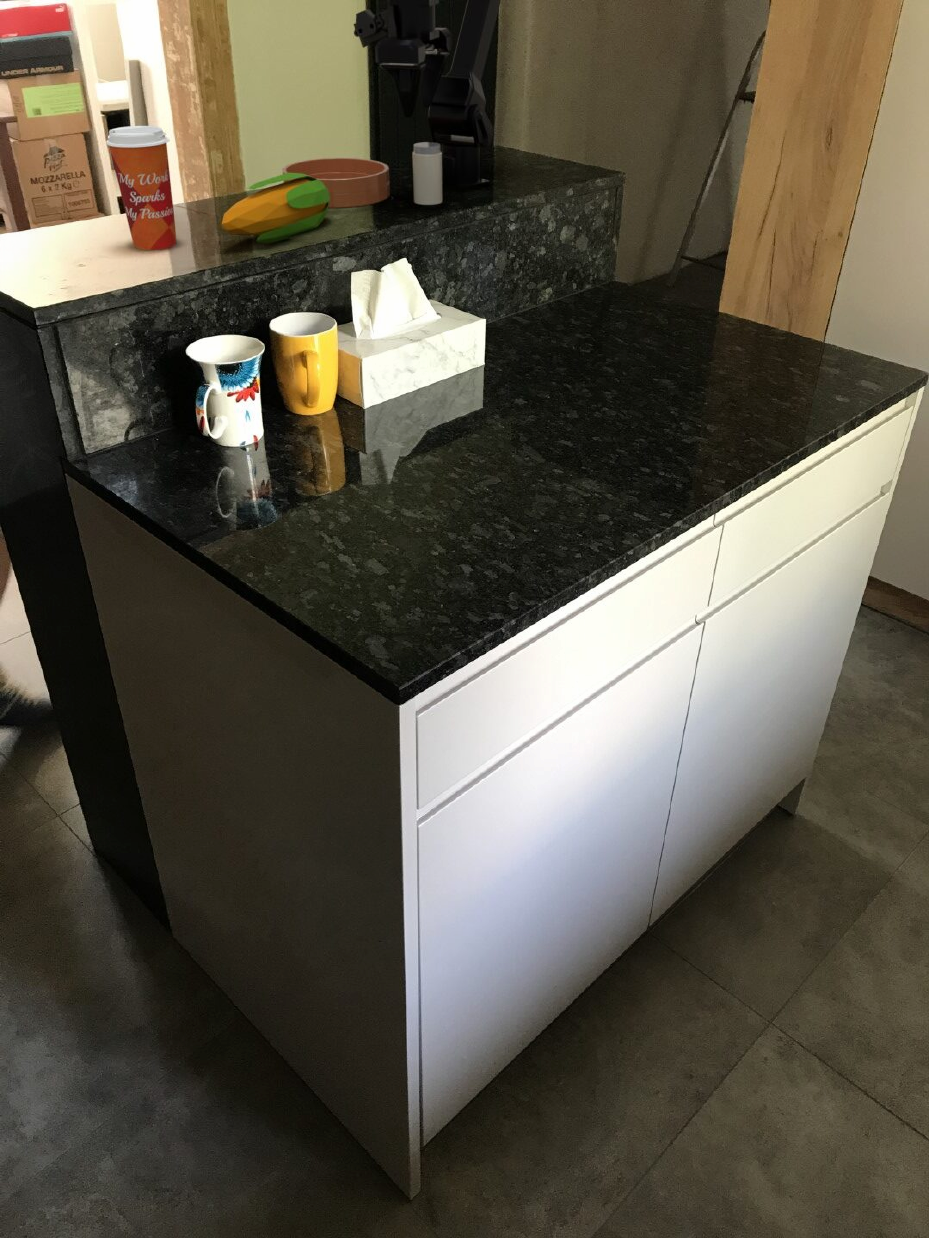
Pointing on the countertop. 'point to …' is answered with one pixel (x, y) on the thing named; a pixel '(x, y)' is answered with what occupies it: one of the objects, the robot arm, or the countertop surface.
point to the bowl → (347, 179)
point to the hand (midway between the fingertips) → (417, 112)
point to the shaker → (427, 173)
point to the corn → (279, 208)
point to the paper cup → (144, 184)
